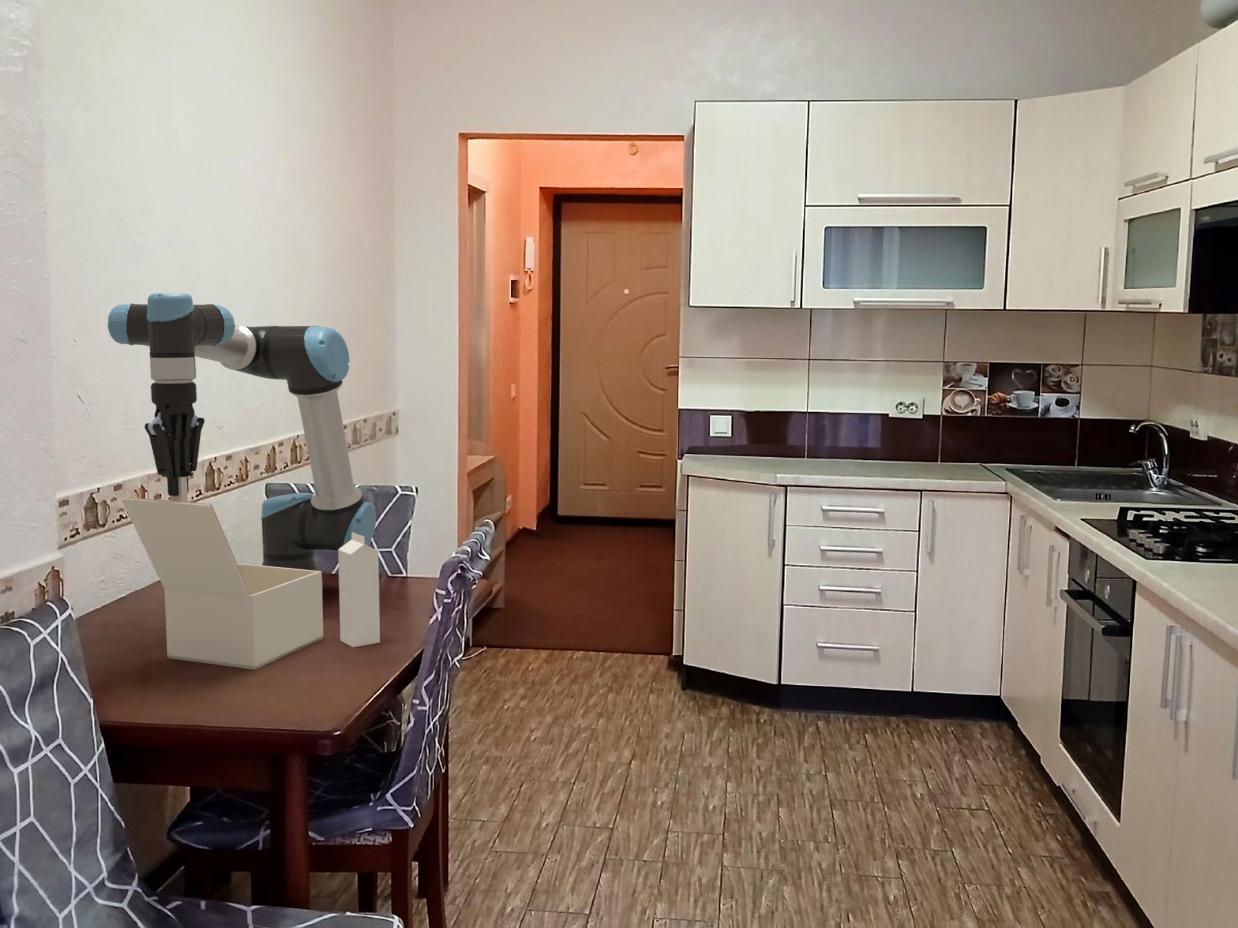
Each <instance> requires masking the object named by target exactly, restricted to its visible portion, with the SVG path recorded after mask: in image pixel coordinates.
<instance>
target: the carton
mask: <svg viewBox="0 0 1238 928" xmlns="http://www.w3.org/2000/svg"><path fill="white" fill-rule="evenodd" d="M237 565H238V567H239V569H240V572H241V574H242V576H243V579H244V581H245V583H246V586H247V588H248V590H249V593H250V596H249V597H246V596H237V595H228V594H219V593H209V592H200V591H191V590H182V589H172V588H164V587H163V588H164V606H165V609H164V610H165V633H166V652H167V653H166V656H167V659H170V660H171V659H172V660H178V661H179V660H180V661H187V662H192V663H193V662H194V663H199V664H200V663H201V664H202V663H203V664H208V665H216V666H224V667H233V668H240V669H245V670H254V671H256V670H258V669H260V668H262V667H264V666H267V665H269V664H272V663H273V662H275V661H278V660H280V659H282V658H285V657H287V656H288V655H291V654H294V653H296V652H297V651H300V650H302V649H304V648H306V647H309V646H310V645H311V646H312V645H313V644H315V643H317V642H319V641H322V640H324V620H323V619H324V617H323V616H324V615H323V613H324V612H323V590H322V581H323V579H322V578H323V577H322V575H323V574H322V571H321V570H319V571H313V570H302V569H292V568H282V567H271V566H262V564H261V565H260V564H249V563H237Z"/></svg>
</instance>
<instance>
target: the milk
mask: <svg viewBox="0 0 1238 928" xmlns="http://www.w3.org/2000/svg"><path fill="white" fill-rule="evenodd" d="M337 553H338V555H337V557H338V592H339V593H338V595H339V596H338V597H339V598H338V599H339V638H340V639H339V640H340V642H343V643H344V644H345V645H348V646H349V647H351V648H357V647H364V646H367V645H369V646H370V645H373V644H379V643H381V628H380V627H381V626H380V625H381V624H380V620H381V619H380V578H379V577H380V576H379V575H380V574H379V573H380V571H379V570H380V567H379V550H377V549H376V548H374V547H371V546H369V545H368V546H367V545H365V539H364V536H361V535H358V534H356V533H353V532H352V539H351V540H350V541H349V542H348V543H346V544H345V545H344V546H342V547H341V548H340V549H338V551H337Z"/></svg>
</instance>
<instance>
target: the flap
mask: <svg viewBox="0 0 1238 928" xmlns="http://www.w3.org/2000/svg"><path fill="white" fill-rule="evenodd" d="M120 500H121V501H122V505H123V507H124V508H125V510H126V512H127V514H128V517H129V518H130V520H131V524H132V525H133V527H134V529H135V531H136V534H137V535H138V538H139V540H140V541H141V543H142V545H143V547H144V549H145V551H146V554H147V556H148V557H149V560H150V562H151V564H152V567H153V569H154V571H155V573H156V574H157V577H158V579H159V581H160V584H161V585H162V587H163V588H172V589H182V590H191V591H200V592H209V593H219V594H228V595H237V596H246V597H249V596H250V593H249V590H248V588H247V586H246V583H245V581H244V579H243V576H242V574H241V572H240V569H239V567H238V565H237V564H238V562H237V560H236V558H235V556H234V554H233V551H232V548H231V547H230V543H229V542H228V540H227V537H226V535H225V532H224V530H223V528H222V525H221V523H220V520H219V518H218V516H217V514H216V511H215V509H214V507H213V504H212V503H204V502H191V501H188V502H179V501H170V500H164V499H163V500H162V499H154V498H153V499H152V498H140V497H126V496H122V498H121V499H120Z"/></svg>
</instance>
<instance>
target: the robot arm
mask: <svg viewBox="0 0 1238 928" xmlns="http://www.w3.org/2000/svg"><path fill="white" fill-rule="evenodd" d="M193 303H194V301H193V297H192V295H190V294H189V293H170V292H169V293H164V292H163V293H162V292H161V293H159V292H157V293H155V292H154V293H151V294H149V296H148V297H147V304H143V303H139V304H138V303H132V302H131V303H126V304H118V305H116V306H114V307H113V308H112V309H111V310H110V311H109V314H108V318H107V320H108V321H107V329H108V333H109V335H110V337H111V338H112V339H113V340H112V341H114V342H115V343H117V344H120V345H129V346H135V345H139V346H146V347H149V367H150V369H149V371H150V379H151V380H153V381H154V382H152V383H151V384H150V398H151V403H152V404H153V405H154V406H155V412H154V419H153V420H152V421H151V422H149V423H148V422H146V423H145V424H144V429H145V431H146V433H147V434H148V436H149V442H150V446H151V450H152V455H153V458H154V463H155V468H156V471H157V474H158V475H159V476H161V477H162V478H166V480H167V481H166V482H167V494H168V496H169V501H179V502H189V499H188V494H189V491H190V490H189V477H193V476H194V475H195V474H194V473H195V472H196V471H197V469H198V461H199V452H200V444H201V436H202V429H203V427H204V425H205V418H204V417H199V416H197V415H196V413H195V408H194V407H193V406H194V405H193V404H195V403H197V401H198V400H197V399H198V398H197V384H196V382H194V380H195V379H196V378H197V367H196V358H201V359H205V360H210V361H213V362H218V363H220V364H221V365H222V366H223V367H224V368H226V369H228V370H232V371H236V372H240V373H244V374H248V375H251V376H255V377H259V378H262V379H269V380H282V381H284V380H286V382H287V383H286V384H287V388H288V391H289V393H290V394H291V395H293V396H295V397H296V398H297V403H298V407H299V412H300V418H301V423H302V427H303V428H302V429H303V434H304V437H305V442H306V449H307V454H308V460H309V464H310V469H311V474H312V481H313V484H314V490H315V492H314V494H313V493H312V492H296V493H295V492H294V493H287V494H283V495H277V496H272V497H269V498H267V499H265V500H264V501H263V502H262V504H261V505H262V506H261V517H260V519H261V534H262V535H261V537H262V564H261V566H271V567H282V568H292V569H302V570H313V571H320V570H319V567H318V565H317V562H316V558H315V551H325V552H338V549H340V548H341V547H342V546H344V545H345V544H346V543H348V542H349V541H350V540H351V539H352V532H353V533H356V534H358V535H361V536H364V539H365V545H367V546H369V545H370V544H371V542H372V540H373V537H374V534H375V530H376V525H377V512H376V507H375V505H374V504H372V503H371V502H368V501H365V502H364V498H363V497H364V496H363V492H362V489H360V488H358V487H357V486H355V485H354V480H353V479H354V478H353V474H352V469H351V461H350V457H349V452H348V444H347V439H346V434H345V429H344V422H343V418H342V411H341V405H340V399H339V394H338V390H340V388H341V387H342V386H343V383H344V382H343V380H344V379H345V378H346V377H347V375H348V374H349V369H350V365H349V363H350V354H349V350H348V349H349V348H348V345H347V343H346V341H345V339H344V337H343V336H342V334H340V332H339V331H337V330H336V329H335V328H333V327H329V326H328V327H326V326H319V325H310V326H309V325H308V326H306V325H302V326H301V325H296V326H295V325H293V326H292V325H281V326H280V325H265V326H244V325H241V324H235V319H234V316H233V314H232V313H231V312H230V310H229V309H228V308H226V307H224V306H222V305H220V304H219V305H218V304H217V305H216V304H213V303H209V304H208V303H207V304H193ZM323 590H324V583H323V580H322V591H323Z"/></svg>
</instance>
